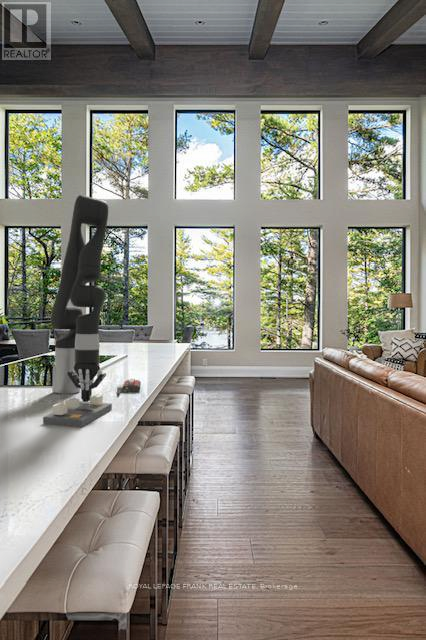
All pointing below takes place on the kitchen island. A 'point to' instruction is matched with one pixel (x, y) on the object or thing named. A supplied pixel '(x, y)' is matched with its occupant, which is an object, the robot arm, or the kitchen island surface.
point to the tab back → (96, 399)
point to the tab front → (60, 409)
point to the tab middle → (72, 403)
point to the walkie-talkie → (129, 386)
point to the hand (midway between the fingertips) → (86, 401)
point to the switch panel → (78, 415)
